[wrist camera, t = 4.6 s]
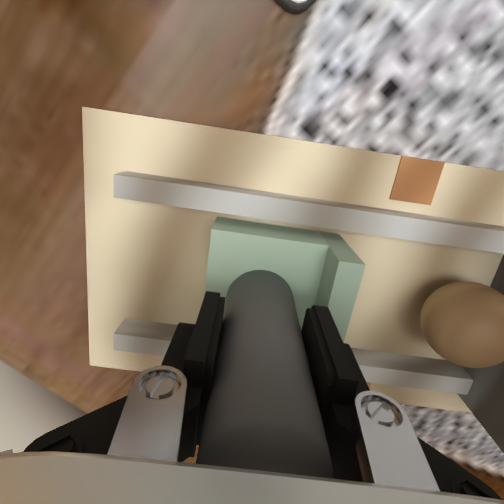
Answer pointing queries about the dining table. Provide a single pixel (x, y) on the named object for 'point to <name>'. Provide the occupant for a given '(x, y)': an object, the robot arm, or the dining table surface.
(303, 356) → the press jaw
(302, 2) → the cell phone
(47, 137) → the dining table surface
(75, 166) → the dining table surface
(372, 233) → the press frame
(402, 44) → the dining table surface
